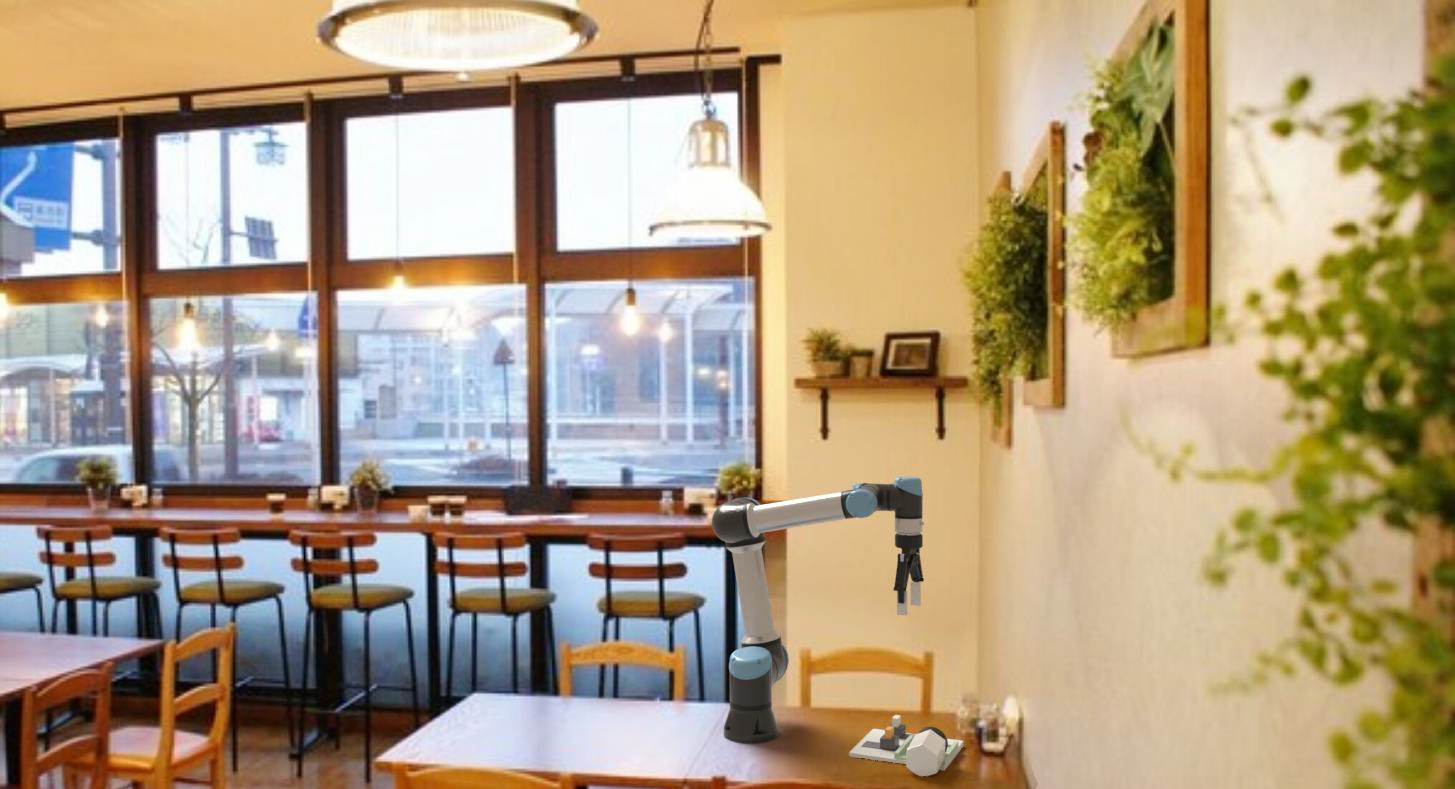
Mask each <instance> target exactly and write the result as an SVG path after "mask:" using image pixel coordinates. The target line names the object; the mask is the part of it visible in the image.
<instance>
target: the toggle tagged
mask: <svg viewBox="0 0 1455 789" xmlns="http://www.w3.org/2000/svg"><path fill="white" fill-rule="evenodd" d="M884 730H885V734H884V735H883V736H882V737H881V738H880V748H883V749H890V750H895V749H896V748H897V747H898V746H899V736H895V735H894V727H891V726H889V725H887V726H886V728H884Z"/></svg>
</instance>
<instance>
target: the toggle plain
mask: <svg viewBox="0 0 1455 789" xmlns="http://www.w3.org/2000/svg"><path fill="white" fill-rule="evenodd" d="M906 725H907V724H905V723H902V715H899V714H895V715H893V716H892V718H891V722H890V723H889V724H888V726H891V727H894V735H895V736H899V738H902V737H903V736H904V735H905V734H906V733H907V729H906V728H907V726H906Z"/></svg>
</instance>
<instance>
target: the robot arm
mask: <svg viewBox="0 0 1455 789" xmlns="http://www.w3.org/2000/svg"><path fill="white" fill-rule="evenodd" d="M922 482H923V481H922V479H921V478H920V477H918V476H897V477H895V479H894V482H893V483H886V484H885V483H867V482H862V483H854V484H853V485H852V486H851V489H848V490H844V491H837V492H831V493H824V494H820V495H819V494H818V495H813V496H812V495H811V496H808V497H801V498H795V499H788V500H783V501H776V502H772V503H771V502H770V503H766V504H765V503H764V504H761V503H760V502H758V500H756V499H754V498H751V497H738V498H735V499H732V500H730V501H727V502H724V503H722V504H720V505H719V506H718V507H717V508H716V510H714V512H713V514H712V517H711V518H712V519H711V527H712V530H713V532H714V534H715V535H716V537H717V538H718V539H719V540H721V541H723V542H724V543H725V548H726V549H727V550H728V551H729V552H731V554H732V559H733V560H732V561H733V566H734V572H735V579H736V585H737V591H738V597H739V603H740V604H739V605H740V609H741V610H740V612H741V617H742V623H743V628H744V629H743V630H744V635H743V637H742V638H741V641H740V643H741V644H740V645H741V647H740V648H737V649H735V650H734V651H733V652H732V653H731V655H730V657H729V663H728V670H729V709H728V713H727V716H726V719H725V723H724V725H723V737H724V738H725V739H726V740H729V741H731V742H735V743H739V744H764V743H767V742H772V741H774V740H776V739H778V737H779V727H778V723H777V720H776V716H775V714H774V711H773V707H772V704H773V701H772V700H773V699H772V698H773V693H772V689H773V686H774V685H775V684H777V682H779V681H780V680H781V679H782V678H783V676H784V675H785V674H786V672H787V670H788V667H789V661H790V660H789V658H790V657H789V653H788V651H787V648H786V647H785V645H783V643H782V638H781V637H782V636H781V634H780V633H779V632H777V631H776V630H775V625H774V619H773V614H772V608H771V607H772V606H771V600H770V594H769V588H768V581H767V577H766V576H767V574H766V570H765V564H764V557H763V551H762V548H763V546H764V545H765V544H766V536H765V533H766V532H767V533H768V532H775V531H780V530H786V529H792V528H800V527H806V526H811V525H816V524H824V523H828V522H830V523H831V522H836V521H837V522H838V521H843V520H848V519H849V520H850V519H855V518H857V519H865V518H868V517H871V515H873V514H874V513H875V512H894V532H895V534H894V546H895V548H897V549H901V553H897V563H896V571H895V580H894V587H893V591H894V592H896V615H897V616H908V614H909V613H908V608H909V607H908V590H907V588H908V583H909V577H910V579H911V581H910V606H919V607H920V606H922V604H921V603H922V602H921V599H922V598H921V597H922V596H921V594H922V592H921V587H922V586H921V584H922V583H923V582H924V581H925V579H924V574H923V568H922V562H921V555H920V554H921V553H920V549H921V548H923V546H924V545H923V542H924V541H923V539H924V538H923V534H922V533H923V526H924V525H925V522H924V521H923V500H924V499H923V495H924V494H923V484H922Z"/></svg>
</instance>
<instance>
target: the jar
mask: <svg viewBox="0 0 1455 789" xmlns="http://www.w3.org/2000/svg"><path fill="white" fill-rule="evenodd" d="M915 734H916V735H915V736H914V738H913V740H912V741H911V743H910V745H909V747H908V748H907V752H906V765H905V767H906V768H907V769H908V770H910V771H911V772H912V773H914V774H915V775H916V776H917V775H918V777H923V776H926V777H925V778H927V777H929V776H933V775H935V774H937V773H938V772H939V771H940V770H939V768H940V766H941V764H942V762H943V759H944V758H945V752H946V751H947V747H948V741H947V739H948V738H947V735H945V733H944V732H943V731H942V730H940V728H937V727H935V726H925V727H923V728H921V729H920V730H919V732H918V733H915Z"/></svg>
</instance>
